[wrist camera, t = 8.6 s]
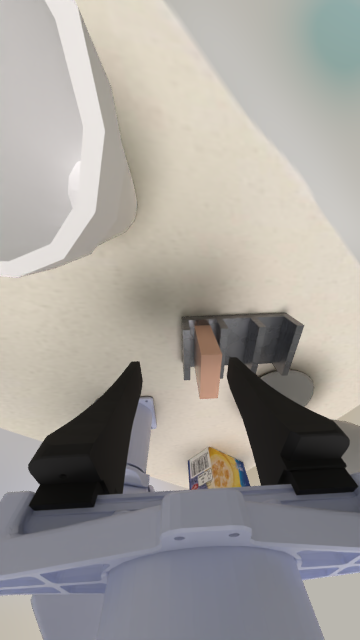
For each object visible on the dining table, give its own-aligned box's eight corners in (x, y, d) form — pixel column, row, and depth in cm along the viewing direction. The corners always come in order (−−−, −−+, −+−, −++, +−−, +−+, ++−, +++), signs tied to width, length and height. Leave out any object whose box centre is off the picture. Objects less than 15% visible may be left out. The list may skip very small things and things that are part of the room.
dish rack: (182, 362, 25) (184, 380, 22) (181, 317, 22) (182, 330, 19) (273, 358, 25) (287, 375, 22) (285, 312, 22) (304, 325, 19)
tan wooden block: (193, 362, 24) (199, 398, 19) (194, 325, 21) (201, 355, 16) (207, 362, 24) (217, 398, 19) (210, 325, 21) (222, 354, 16)
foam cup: (54, 108, 13) (-737, -749, 2) (164, 160, 15) (133, -110, 3) (51, 234, 17) (-205, 225, 6) (139, 264, 19) (84, 308, 7)
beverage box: (221, 474, 41) (267, 699, 21) (187, 460, 37) (202, 711, 17) (243, 462, 38) (316, 699, 19) (209, 446, 35) (254, 714, 15)
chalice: (218, 398, 29) (257, 538, 15) (289, 348, 25) (428, 480, 11) (265, 430, 33) (327, 560, 20) (332, 391, 29) (469, 524, 16)
